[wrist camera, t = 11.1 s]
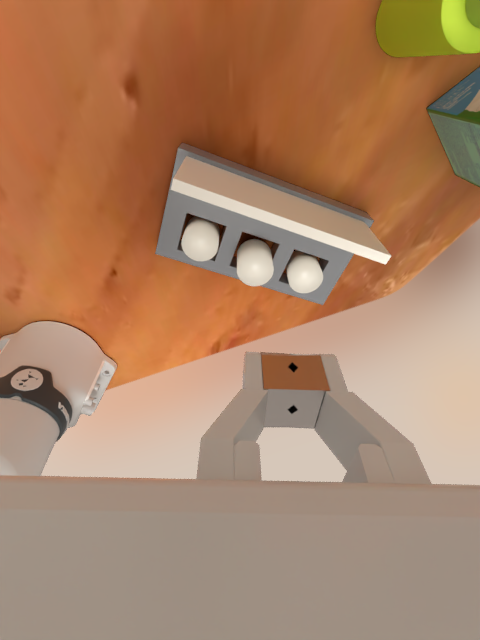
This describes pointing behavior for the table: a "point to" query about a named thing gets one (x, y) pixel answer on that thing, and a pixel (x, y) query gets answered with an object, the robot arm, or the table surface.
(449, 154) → the milk carton
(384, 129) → the table surface
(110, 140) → the table surface
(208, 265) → the console
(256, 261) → the button middle
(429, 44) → the soap dispenser
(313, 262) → the button right
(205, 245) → the button left
